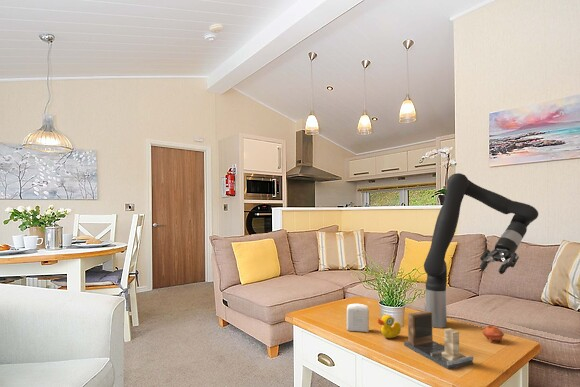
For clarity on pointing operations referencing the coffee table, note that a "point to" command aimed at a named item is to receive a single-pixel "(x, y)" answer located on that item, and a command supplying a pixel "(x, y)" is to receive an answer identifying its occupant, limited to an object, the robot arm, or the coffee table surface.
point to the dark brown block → (420, 327)
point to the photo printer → (357, 318)
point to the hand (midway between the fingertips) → (490, 271)
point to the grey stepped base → (439, 354)
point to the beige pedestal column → (451, 345)
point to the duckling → (389, 326)
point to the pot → (493, 333)
